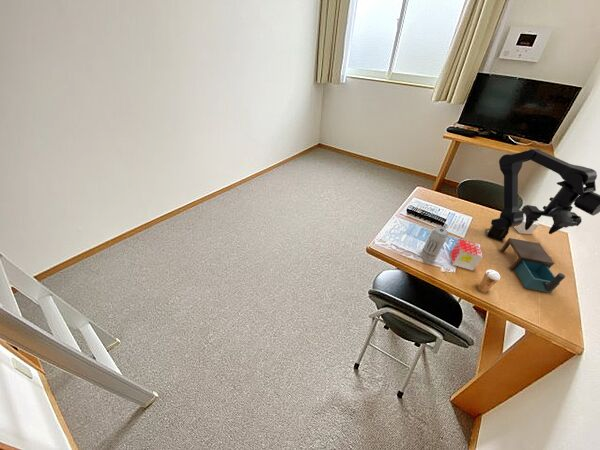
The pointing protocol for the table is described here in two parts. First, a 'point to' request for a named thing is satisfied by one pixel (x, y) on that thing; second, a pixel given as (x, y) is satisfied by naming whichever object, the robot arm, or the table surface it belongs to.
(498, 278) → the milkshake
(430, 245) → the energy drink can
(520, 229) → the white cube
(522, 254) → the brown drawer cabinet
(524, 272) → the drawer
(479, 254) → the red patterned cube box
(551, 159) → the robot arm
